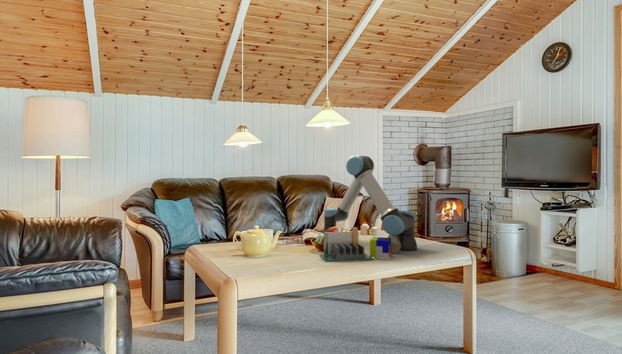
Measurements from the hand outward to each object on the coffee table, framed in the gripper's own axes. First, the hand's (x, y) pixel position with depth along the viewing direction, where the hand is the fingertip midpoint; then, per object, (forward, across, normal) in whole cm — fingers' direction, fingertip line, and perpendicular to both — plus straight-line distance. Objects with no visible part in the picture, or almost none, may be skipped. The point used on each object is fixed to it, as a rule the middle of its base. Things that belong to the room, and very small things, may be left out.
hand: (343, 242), depth 235 cm
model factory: (+8, +1, -7) cm, 11 cm away
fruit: (-2, -30, -8) cm, 31 cm away
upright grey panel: (+3, +2, -6) cm, 7 cm away
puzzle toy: (+8, -19, -7) cm, 22 cm away
